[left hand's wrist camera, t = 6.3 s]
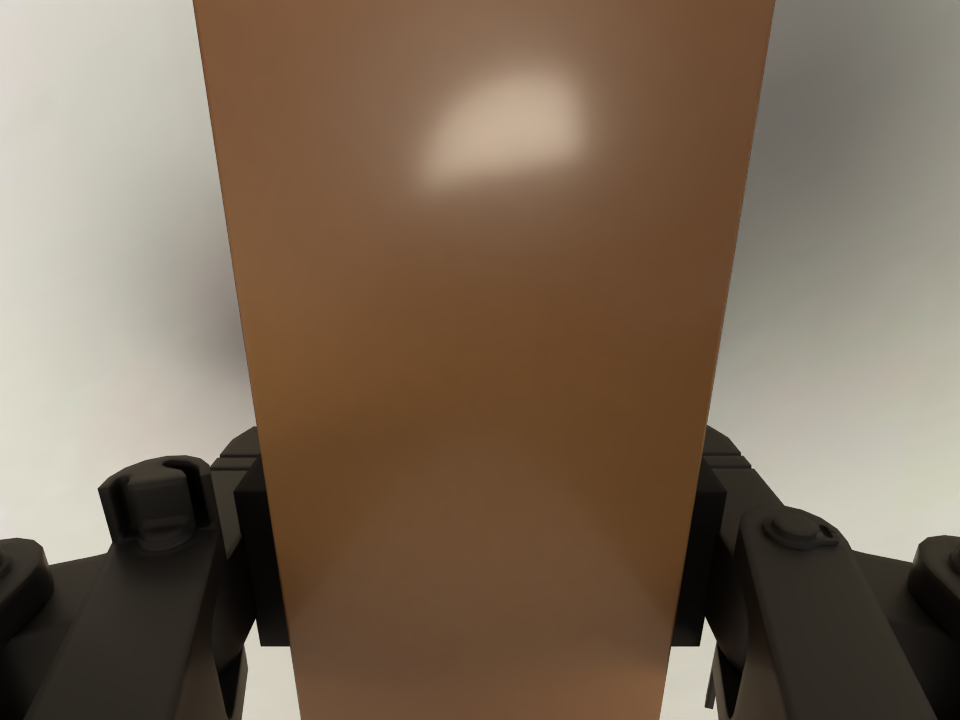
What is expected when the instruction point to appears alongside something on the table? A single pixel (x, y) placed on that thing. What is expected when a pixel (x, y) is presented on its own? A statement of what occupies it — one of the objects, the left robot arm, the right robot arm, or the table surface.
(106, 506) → the left robot arm
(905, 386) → the table surface
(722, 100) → the beam
